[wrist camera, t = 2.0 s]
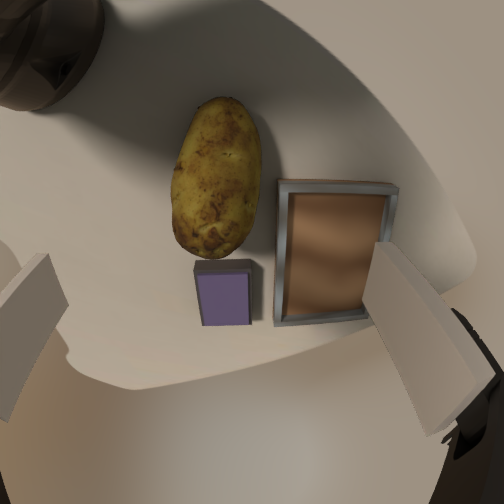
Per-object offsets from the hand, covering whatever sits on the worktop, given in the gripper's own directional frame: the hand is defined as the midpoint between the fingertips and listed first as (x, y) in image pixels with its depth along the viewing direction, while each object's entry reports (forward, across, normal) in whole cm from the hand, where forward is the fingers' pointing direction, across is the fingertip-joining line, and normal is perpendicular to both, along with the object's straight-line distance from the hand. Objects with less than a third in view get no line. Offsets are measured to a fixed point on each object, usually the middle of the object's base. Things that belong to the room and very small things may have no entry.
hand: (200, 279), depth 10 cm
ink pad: (+18, 0, -14) cm, 23 cm away
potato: (+18, 0, 0) cm, 18 cm away
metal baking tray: (+18, +12, -10) cm, 23 cm away
